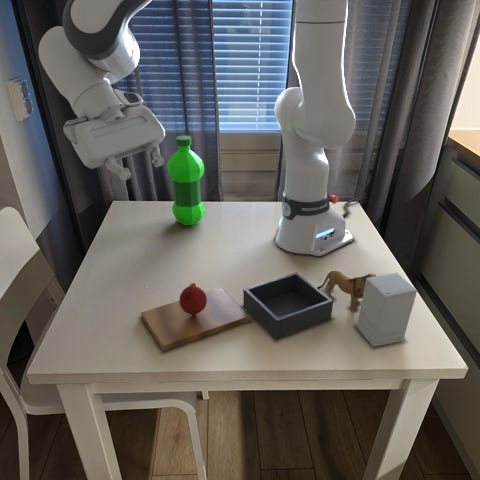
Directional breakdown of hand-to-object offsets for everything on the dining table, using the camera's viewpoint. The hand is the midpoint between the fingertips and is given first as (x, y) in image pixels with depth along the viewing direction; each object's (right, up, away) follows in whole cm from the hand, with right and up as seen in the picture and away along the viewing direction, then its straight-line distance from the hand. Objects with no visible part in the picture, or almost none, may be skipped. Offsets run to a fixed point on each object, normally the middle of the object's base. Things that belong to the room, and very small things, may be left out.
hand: (144, 171), depth 90 cm
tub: (+29, -28, +12) cm, 42 cm away
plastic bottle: (+3, +1, +49) cm, 50 cm away
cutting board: (+9, -30, +10) cm, 32 cm away
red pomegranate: (+9, -29, +9) cm, 31 cm away
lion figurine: (+44, -25, +16) cm, 53 cm away
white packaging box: (+49, -33, +6) cm, 59 cm away
